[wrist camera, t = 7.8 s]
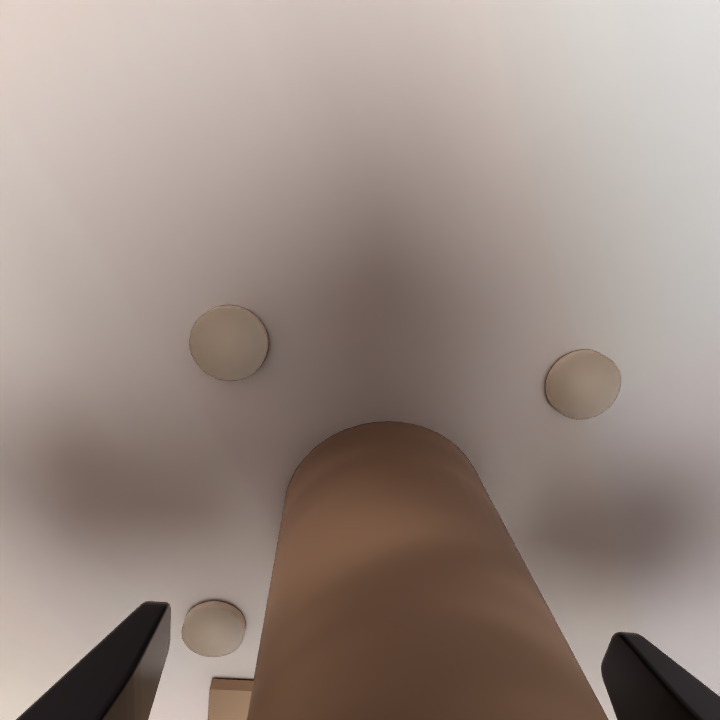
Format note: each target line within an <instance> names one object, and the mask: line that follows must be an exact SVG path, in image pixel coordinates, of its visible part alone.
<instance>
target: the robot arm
mask: <svg viewBox="0 0 720 720" xmlns="http://www.w3.org/2000/svg"><path fill="white" fill-rule="evenodd" d="M170 623H171V608H170V604H169V603H167V602H154V601H147V602H144V603H143V604H141V605H140V606H139V607H138V608H137V609H136V610H135V611H134V612H132V613H131V614H130V615H129V616H128V617H127V618H126V619H125V620H124V621H123V622H122V623H121V624H119V625H118V626H117V627H116V628H115V629H114V630H113V631H112V632H111V633H110V634H109V635H108V636H106V637H105V638H104V639H103V640H102V641H101V642H100V643H99V644H98V645H97V646H96V647H94V648H93V649H92V650H91V651H90V652H89V653H88V654H87V655H86V656H85V657H84V658H83V659H81V660H80V661H79V662H78V663H77V664H76V665H75V666H74V667H73V668H72V669H71V670H69V671H68V672H67V673H66V674H65V675H64V676H63V677H62V678H61V679H60V680H59V681H58V682H56V683H55V684H54V685H53V686H52V687H51V688H50V689H49V690H48V691H47V692H46V693H44V694H43V695H42V696H41V697H40V698H39V699H38V700H37V701H36V702H35V703H34V704H33V705H31V706H30V707H29V708H28V709H27V710H26V711H25V712H24V713H23V714H22V715H21V716H20V717H18V718H17V719H16V720H148V718H149V715H150V711H151V708H152V704H153V701H154V698H155V694H156V691H157V688H158V684H159V681H160V677H161V674H162V671H163V667H164V664H165V661H166V657H167V654H168V650H169V644H170ZM601 672H602V677H603V681H604V684H605V686H606V689H607V692H608V695H609V698H610V700H611V703H612V706H613V709H614V711H615V714H616V717H617V720H720V697H719V696H718V695H717V694H716V693H714V692H713V691H712V690H710V689H709V688H708V687H707V686H705V685H704V684H703V683H702V682H700V681H699V680H698V679H696V678H695V677H694V676H693V675H691V674H690V673H689V672H687V671H686V670H685V669H684V668H682V667H681V666H680V665H679V664H677V663H676V662H675V661H673V660H672V659H671V658H670V657H668V656H667V655H666V654H664V653H663V652H662V651H661V650H659V649H658V648H657V647H656V646H654V645H653V644H652V643H650V642H649V641H648V640H647V639H645V638H644V637H643V636H641V635H639V634H636V633H627V632H617V633H615V634H614V635H613V636H612V639H611V641H610V644H609V646H608V649H607V651H606V654H605V656H604V659H603V661H602V665H601Z"/></svg>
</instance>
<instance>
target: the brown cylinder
mask: <svg viewBox="0 0 720 720" xmlns="http://www.w3.org/2000/svg"><path fill="white" fill-rule="evenodd" d="M247 720H608V718H607V716H606V714H605V712H604V710H603V708H602V707H601V705H600V703H599V701H598V699H597V697H596V695H595V693H594V692H593V690H592V688H591V686H590V684H589V682H588V680H587V679H586V677H585V675H584V673H583V671H582V669H581V667H580V665H579V664H578V662H577V660H576V658H575V656H574V654H573V652H572V651H571V649H570V647H569V645H568V643H567V641H566V639H565V637H564V636H563V634H562V632H561V630H560V628H559V626H558V624H557V623H556V621H555V619H554V617H553V615H552V613H551V611H550V609H549V608H548V606H547V604H546V602H545V600H544V598H543V596H542V595H541V593H540V591H539V589H538V587H537V585H536V583H535V581H534V580H533V578H532V576H531V574H530V572H529V570H528V568H527V567H526V565H525V563H524V561H523V559H522V557H521V555H520V553H519V552H518V550H517V548H516V546H515V544H514V542H513V540H512V539H511V537H510V535H509V533H508V531H507V529H506V527H505V525H504V524H503V522H502V520H501V518H500V516H499V514H498V512H497V511H496V509H495V507H494V505H493V503H492V501H491V499H490V497H489V496H488V494H487V492H486V490H485V488H484V486H483V484H482V483H481V481H480V479H479V477H478V475H477V473H476V471H475V469H474V468H473V466H472V464H471V463H470V461H469V460H468V458H467V457H466V456H465V455H464V453H463V452H462V451H461V450H460V449H459V448H458V447H457V446H456V445H454V444H453V443H452V442H451V441H449V440H448V439H446V438H445V437H443V436H442V435H440V434H438V433H436V432H434V431H432V430H429V429H427V428H424V427H421V426H417V425H414V424H408V423H402V422H374V423H368V424H363V425H358V426H355V427H352V428H349V429H346V430H344V431H342V432H340V433H337V434H335V435H333V436H332V437H330V438H328V439H327V440H325V441H323V442H322V443H321V444H319V445H318V446H317V447H316V448H315V449H313V450H312V451H311V452H310V453H309V454H308V455H307V456H306V457H305V458H304V460H303V461H302V462H301V464H300V465H299V466H298V468H297V469H296V471H295V473H294V475H293V477H292V478H291V480H290V483H289V486H288V489H287V492H286V497H285V503H284V509H283V514H282V520H281V526H280V532H279V537H278V543H277V549H276V555H275V560H274V566H273V572H272V577H271V583H270V589H269V595H268V600H267V606H266V612H265V618H264V623H263V629H262V635H261V641H260V646H259V652H258V658H257V664H256V669H255V675H254V681H253V687H252V692H251V698H250V704H249V709H248V715H247Z"/></svg>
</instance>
